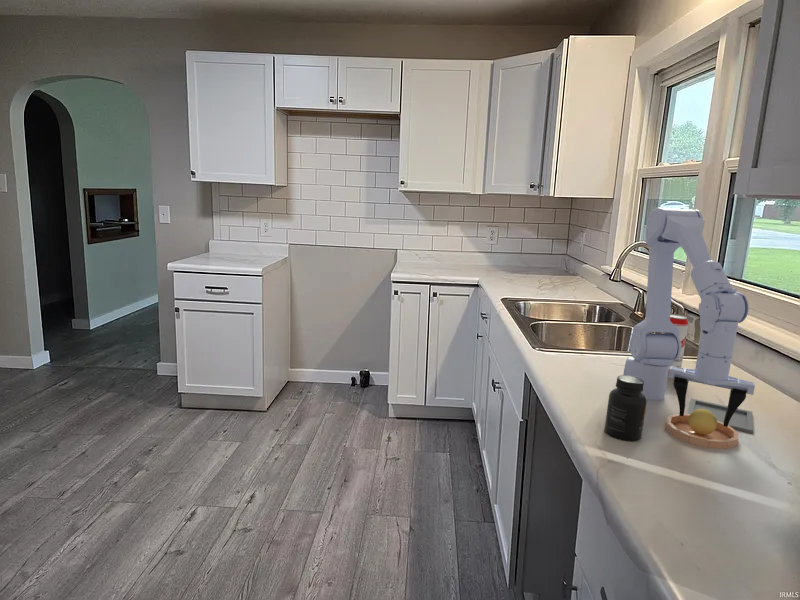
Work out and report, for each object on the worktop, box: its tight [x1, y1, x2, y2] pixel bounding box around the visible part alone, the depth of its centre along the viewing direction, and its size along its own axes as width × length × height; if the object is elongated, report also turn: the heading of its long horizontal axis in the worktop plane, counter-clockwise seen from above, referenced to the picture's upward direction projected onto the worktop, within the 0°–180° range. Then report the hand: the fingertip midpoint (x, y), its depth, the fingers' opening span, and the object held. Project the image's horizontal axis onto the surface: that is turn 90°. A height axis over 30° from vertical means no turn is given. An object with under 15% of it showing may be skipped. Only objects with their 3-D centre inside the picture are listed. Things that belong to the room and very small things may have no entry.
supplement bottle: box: [604, 374, 648, 443], centre depth 106 cm, size 7×7×12 cm
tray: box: [686, 398, 754, 434], centre depth 119 cm, size 12×12×1 cm
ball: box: [688, 409, 717, 435], centre depth 109 cm, size 5×5×5 cm
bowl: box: [664, 412, 739, 450], centre depth 109 cm, size 13×13×2 cm
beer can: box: [660, 313, 689, 376], centre depth 146 cm, size 6×6×16 cm
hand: (703, 419), depth 108 cm, fingers open, 7 cm apart
